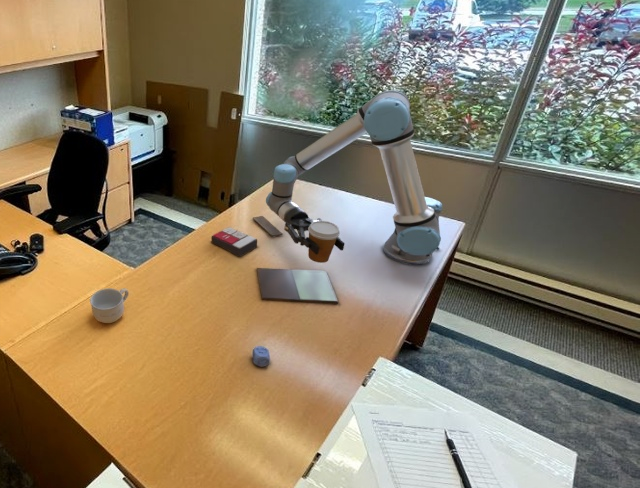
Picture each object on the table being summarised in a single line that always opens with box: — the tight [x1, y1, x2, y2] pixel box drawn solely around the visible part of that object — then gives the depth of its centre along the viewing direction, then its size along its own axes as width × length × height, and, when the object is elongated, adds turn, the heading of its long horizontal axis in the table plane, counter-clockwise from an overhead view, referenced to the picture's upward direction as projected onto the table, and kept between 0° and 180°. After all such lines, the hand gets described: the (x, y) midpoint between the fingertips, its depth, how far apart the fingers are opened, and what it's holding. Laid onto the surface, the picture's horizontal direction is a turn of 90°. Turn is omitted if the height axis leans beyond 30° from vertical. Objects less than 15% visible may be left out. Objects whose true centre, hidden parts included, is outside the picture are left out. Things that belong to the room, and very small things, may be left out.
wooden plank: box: [252, 215, 283, 237], centre depth 181 cm, size 17×1×5 cm
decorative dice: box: [251, 345, 271, 368], centre depth 117 cm, size 4×4×4 cm
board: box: [256, 267, 339, 305], centre depth 145 cm, size 24×17×1 cm
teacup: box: [89, 288, 130, 324], centre depth 137 cm, size 14×11×8 cm
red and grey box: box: [211, 226, 258, 257], centre depth 170 cm, size 11×4×15 cm
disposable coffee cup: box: [307, 220, 341, 264], centre depth 138 cm, size 10×10×12 cm
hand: (330, 248), depth 133 cm, fingers closed on disposable coffee cup, 8 cm apart
